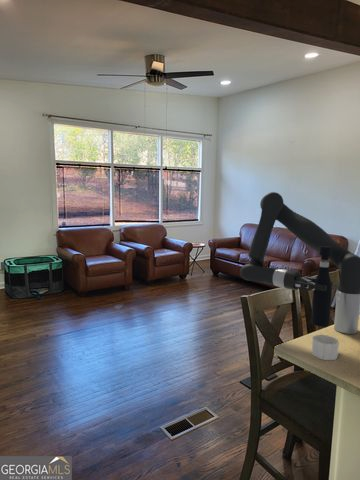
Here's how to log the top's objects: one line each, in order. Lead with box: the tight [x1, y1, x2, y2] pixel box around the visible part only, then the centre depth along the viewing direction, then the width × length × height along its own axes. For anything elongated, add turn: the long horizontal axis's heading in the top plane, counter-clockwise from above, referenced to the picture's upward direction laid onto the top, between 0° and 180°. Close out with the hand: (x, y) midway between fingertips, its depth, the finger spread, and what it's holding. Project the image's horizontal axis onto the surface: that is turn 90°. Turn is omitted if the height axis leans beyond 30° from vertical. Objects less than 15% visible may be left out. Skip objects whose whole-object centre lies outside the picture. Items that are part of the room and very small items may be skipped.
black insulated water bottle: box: [311, 246, 333, 328], centre depth 131 cm, size 6×6×30 cm
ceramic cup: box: [311, 334, 340, 361], centre depth 125 cm, size 8×8×6 cm
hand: (329, 286), depth 129 cm, fingers closed on black insulated water bottle, 6 cm apart
